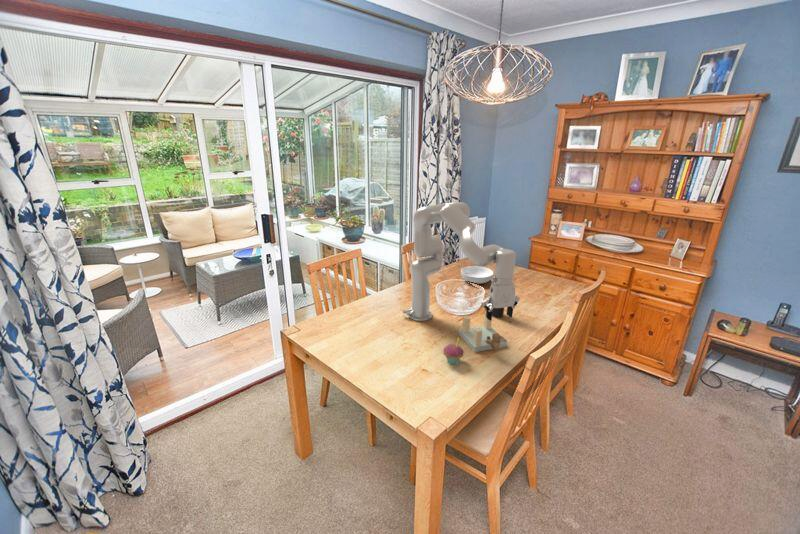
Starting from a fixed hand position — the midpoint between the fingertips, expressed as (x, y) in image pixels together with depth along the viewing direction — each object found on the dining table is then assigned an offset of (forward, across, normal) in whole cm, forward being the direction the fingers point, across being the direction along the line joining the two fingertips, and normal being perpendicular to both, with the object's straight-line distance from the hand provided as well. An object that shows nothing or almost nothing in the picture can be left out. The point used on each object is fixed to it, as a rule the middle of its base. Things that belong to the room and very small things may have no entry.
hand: (499, 317), depth 147 cm
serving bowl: (+18, +32, +78) cm, 87 cm away
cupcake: (+18, -20, 0) cm, 27 cm away
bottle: (+18, +20, +32) cm, 42 cm away
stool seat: (+18, 0, +12) cm, 22 cm away
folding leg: (+15, 0, +3) cm, 16 cm away
